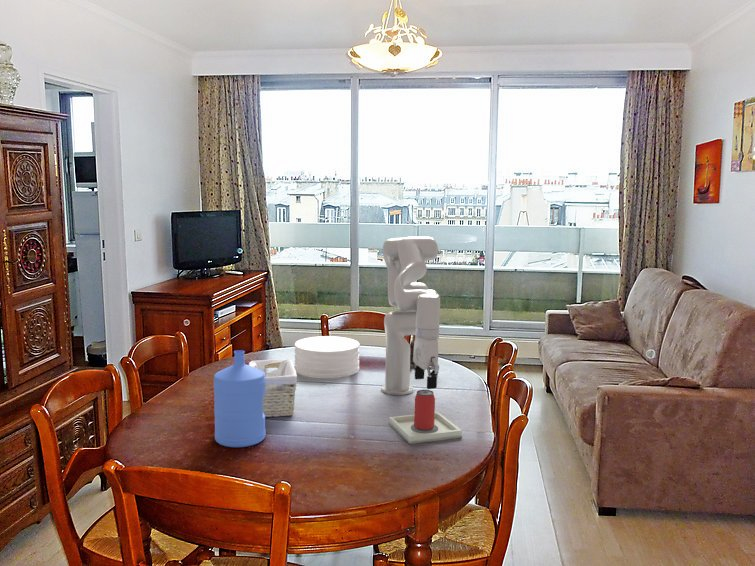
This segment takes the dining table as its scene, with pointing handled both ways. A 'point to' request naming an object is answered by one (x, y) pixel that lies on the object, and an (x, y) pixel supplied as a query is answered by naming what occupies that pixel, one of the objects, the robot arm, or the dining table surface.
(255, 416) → the water jug
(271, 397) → the storage basket
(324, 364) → the plate stack
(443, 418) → the coaster tray
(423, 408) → the beer can
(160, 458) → the dining table surface
